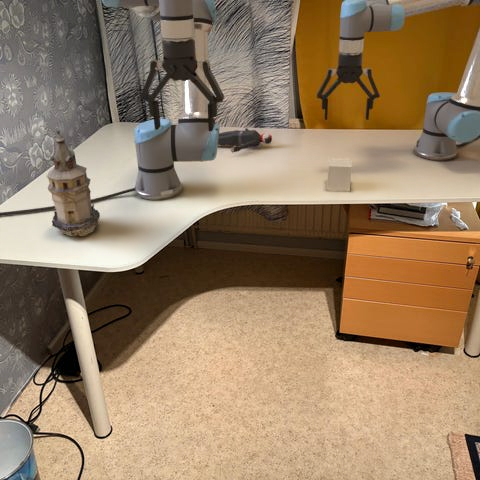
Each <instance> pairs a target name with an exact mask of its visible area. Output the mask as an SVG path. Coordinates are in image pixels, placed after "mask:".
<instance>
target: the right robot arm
mask: <svg viewBox="0 0 480 480" xmlns="http://www.w3.org/2000/svg"><path fill="white" fill-rule="evenodd" d="M459 5H460V6H461V7H467V6H475V5H477V6H480V0H343V1H342V3H341V7H340V15H339V17H340V18H339V19H340V20H339V40H338V52H339V53H338V55H337V56H338V58H337V67H336V68H335V69H334V68H331V67H329V68H327V74H326V76H325V78H324V80H323V82H322V83H321V86H320V87H319V89H318V91H317V93H316V98H317V99H320V100H321V109H322V110H324V120H325V121H328V113H329V112H328V110H329V96H330V95H331V94H332V93H333V92H334V91H335V90H336V89H337V87H339V86H340V85H341V83H343V84H354V83H357V84H358V85H359V87H360V88H361V89H362V90H363V92H364V94H366V96H367V97H366V107H365V120H366V121H369V120H370V119H369V118H370V110H373V109H374V100H375V99H378V98H380V97H381V96H380V93H379V90H378V88H377V85H376V82H375V80H374V77H373V75H372V74H373V73H372V68H371V67H367V68H362V66H363V52H364V44H365V43H364V40H365V33H376V32H389V33H390V32H393V31H394V32H395V31H399V30H401V29H403V26H404V24H405V20H406V19H405V18H408V17H412V16H416V15H420V14H425V13H429V12H433V11H438V10H442V9H447V8H451V7H453V6H454V7H455V6H459ZM335 74H336V75H337V77H336V79H335V81H334V82H333V83H332V84H331V85H330V86H329V88H327V86H328V84H329V82H330V80H331V78H332V77H333V76H334V75H335ZM363 74H364V75H365V76H366V77H367V78H368V79H367V80H368V82H369V83H370V86H371V88H372V90H373V93H372V92H371V91H370V89H369V88H368V87H367V86H366V84H365V83H364V82H363V81H362V79H361V76H363ZM326 88H327V90H326ZM325 90H326V91H325ZM478 138H480V27H478V31H477V34H476V36H475V39H474V42H473V45H472V48H471V51H470V54H469V56H468V59H467V63H466V66H465V68H464V71H463V75H462V76H461V80H460V83H459V86H458V89H457V92H448V91H447V92H444V91H443V92H433V93H431V94H429V95H428V97H427V100H426V106H425V114H424V120H423V126H422V132H421V134H420V137H419V139H418V140H417V141H416V143H415V144H416V145H415V146H414V151H413V152H414V154H415V155H416V156H417V157H419V158H422V159H426V160H428V161H429V160H430V161H441V162H442V161H450V160H453V159H456V158H457V156H458V155H457V153H458V148H459V147H464V146H465V145H467V144H468V143H470V142H473V141H474V140H476V139H478ZM457 143H459V144H457Z"/></svg>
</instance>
